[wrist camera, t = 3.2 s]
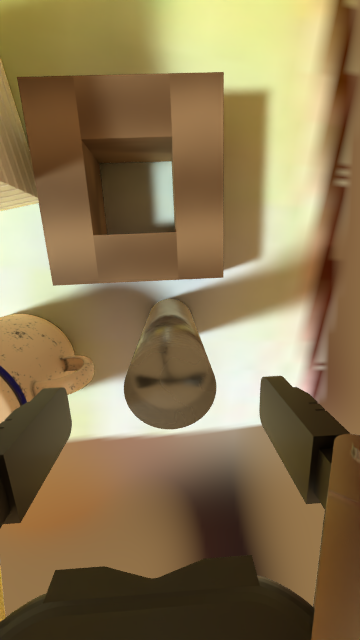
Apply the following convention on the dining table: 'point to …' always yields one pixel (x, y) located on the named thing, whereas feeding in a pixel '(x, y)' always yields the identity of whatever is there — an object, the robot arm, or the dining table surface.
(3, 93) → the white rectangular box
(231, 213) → the dining table surface
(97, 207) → the socket block
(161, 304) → the metal pin
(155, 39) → the dining table surface
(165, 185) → the dining table surface
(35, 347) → the teacup with lid
